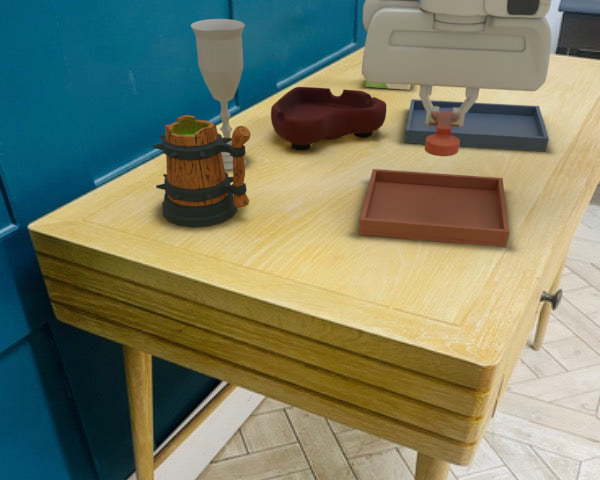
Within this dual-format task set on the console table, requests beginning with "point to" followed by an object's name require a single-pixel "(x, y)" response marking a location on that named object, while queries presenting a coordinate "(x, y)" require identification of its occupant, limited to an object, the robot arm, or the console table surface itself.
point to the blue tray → (485, 126)
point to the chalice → (221, 65)
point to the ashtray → (325, 115)
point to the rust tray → (435, 208)
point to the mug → (201, 173)
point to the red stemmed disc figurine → (442, 137)
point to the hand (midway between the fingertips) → (443, 124)
